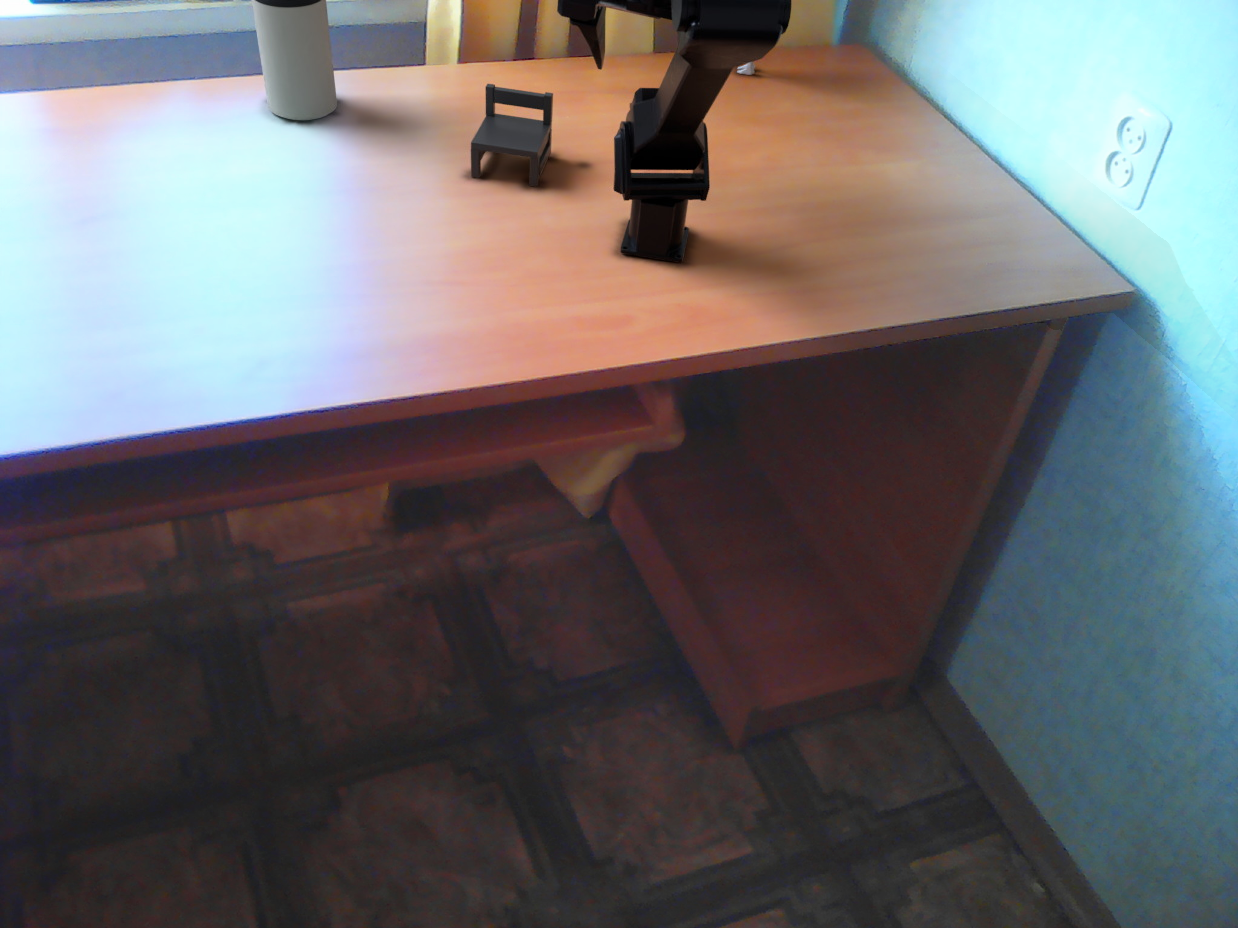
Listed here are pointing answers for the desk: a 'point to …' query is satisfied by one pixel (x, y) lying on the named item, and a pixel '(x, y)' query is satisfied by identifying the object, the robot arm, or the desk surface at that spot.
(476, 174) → the chair
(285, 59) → the travel mug
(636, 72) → the desk surface
